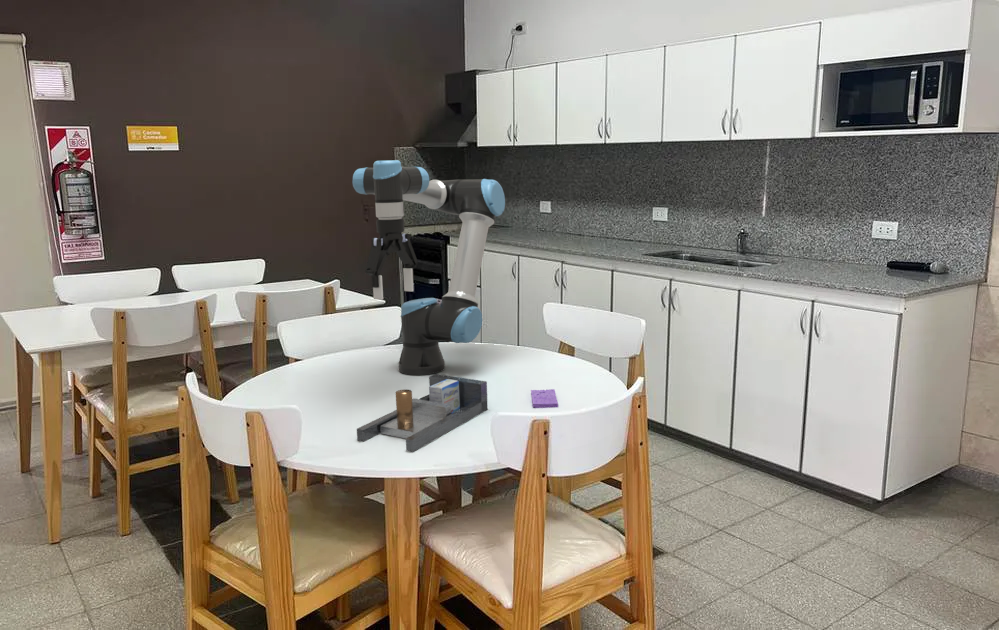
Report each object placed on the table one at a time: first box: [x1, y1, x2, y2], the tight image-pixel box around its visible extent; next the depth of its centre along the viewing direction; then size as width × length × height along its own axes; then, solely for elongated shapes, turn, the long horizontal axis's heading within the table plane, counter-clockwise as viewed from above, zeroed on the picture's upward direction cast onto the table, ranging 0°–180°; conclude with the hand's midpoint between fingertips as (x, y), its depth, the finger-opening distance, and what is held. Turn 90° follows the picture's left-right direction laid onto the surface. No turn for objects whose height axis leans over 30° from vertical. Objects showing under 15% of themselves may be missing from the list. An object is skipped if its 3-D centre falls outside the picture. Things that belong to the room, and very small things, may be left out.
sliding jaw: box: [380, 388, 451, 439], centre depth 192 cm, size 12×14×11 cm
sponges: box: [530, 388, 559, 409], centre depth 213 cm, size 7×13×2 cm, turn 0°
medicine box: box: [428, 379, 460, 414], centre depth 203 cm, size 8×4×9 cm, turn 148°
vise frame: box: [356, 373, 489, 453], centre depth 195 cm, size 17×34×8 cm, turn 150°
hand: (394, 295), depth 209 cm, fingers open, 13 cm apart
